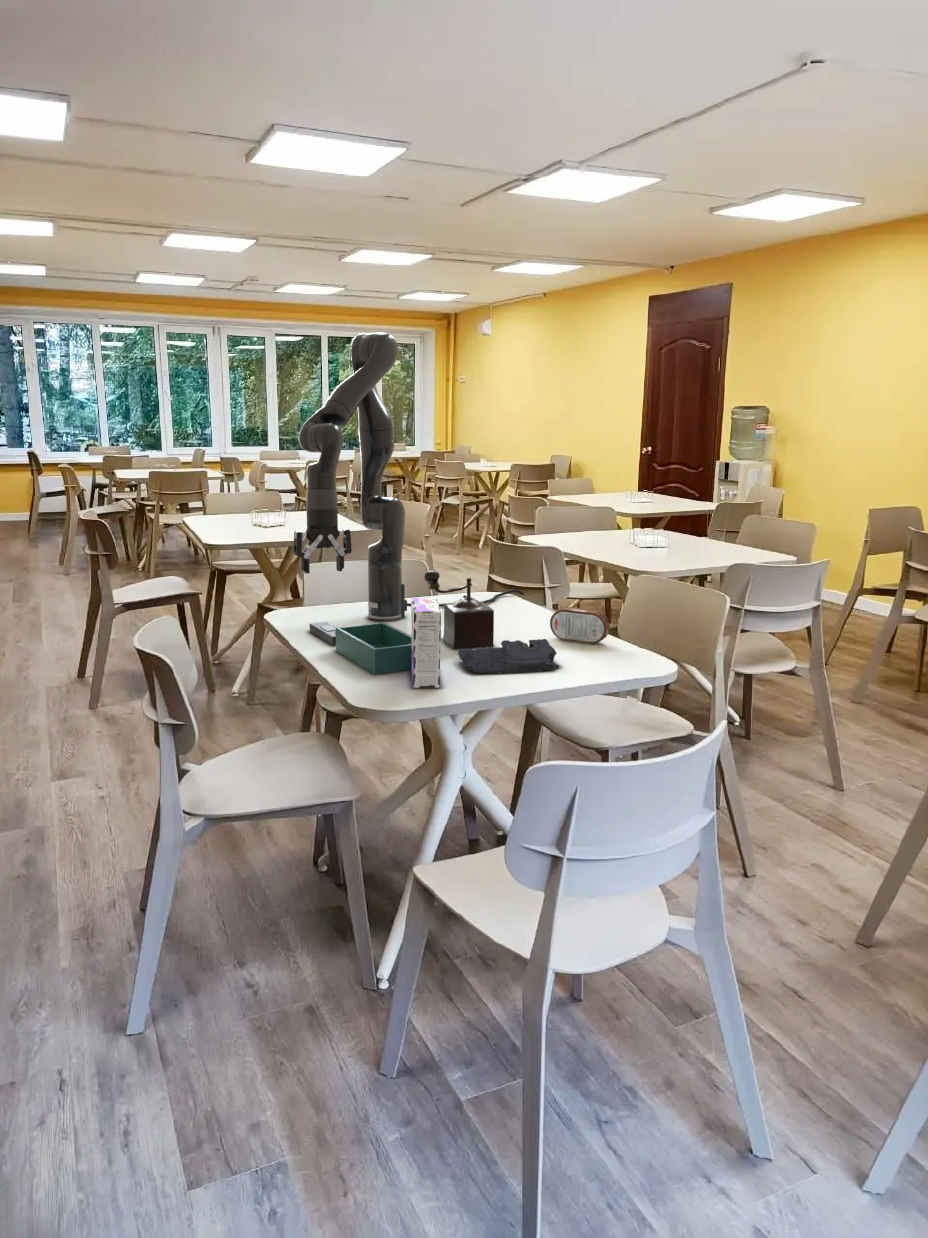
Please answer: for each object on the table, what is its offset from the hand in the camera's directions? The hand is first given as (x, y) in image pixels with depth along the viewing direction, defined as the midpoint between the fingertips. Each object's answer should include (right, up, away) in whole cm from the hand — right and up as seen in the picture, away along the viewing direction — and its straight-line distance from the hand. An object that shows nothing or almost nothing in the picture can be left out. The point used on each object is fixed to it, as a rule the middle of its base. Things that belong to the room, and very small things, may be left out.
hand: (323, 572), depth 220 cm
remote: (+1, -16, +4) cm, 17 cm away
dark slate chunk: (+45, -22, -18) cm, 53 cm away
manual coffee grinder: (+33, -18, -1) cm, 38 cm away
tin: (+64, -18, +3) cm, 66 cm away
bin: (+15, -21, -15) cm, 30 cm away
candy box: (+27, -25, -30) cm, 47 cm away
